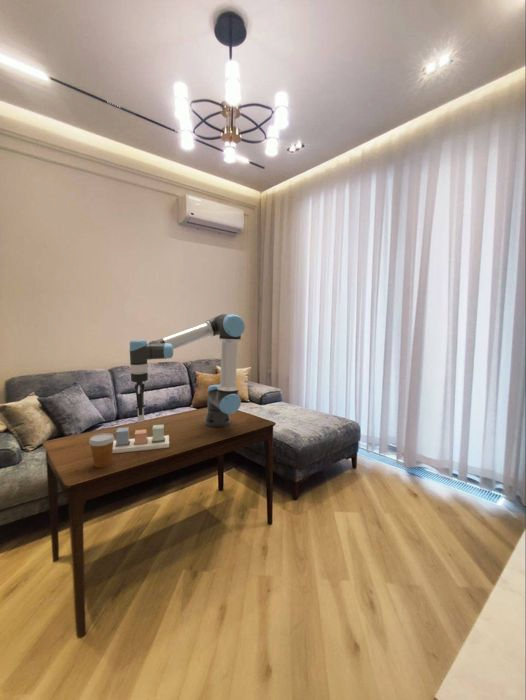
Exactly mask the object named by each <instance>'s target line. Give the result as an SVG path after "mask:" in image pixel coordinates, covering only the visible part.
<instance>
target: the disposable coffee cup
mask: <svg viewBox="0 0 526 700" xmlns="http://www.w3.org/2000/svg"><path fill="white" fill-rule="evenodd" d="M114 440H116V437H115V436H114V434H113V433H111V432H110V433H109V432H103V433H97V434H95V435H92V436H90V438H89V441H88V443H89V445H90V450H91V455H92V460H93V463H94V467H95V468H100V469H101V468H106V467H108V466H111V464H112V458H113V454H112V450H113V441H114Z"/></svg>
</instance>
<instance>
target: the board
mask: <svg viewBox="0 0 526 700" xmlns="http://www.w3.org/2000/svg"><path fill="white" fill-rule="evenodd" d="M161 449H170V435H169V434H167V435H165V434H164V440H157V441H153V436H147V443H146V444H141V445H135V437H133V438H129V442H128V443H127V444H117V445H116V439H114V441H113V450H112V455H113V454H115V455H116V454H124V453H130V452H131V453H132V452H141V451H142V452H143V451H150V450H151V451H152V450H161Z"/></svg>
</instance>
